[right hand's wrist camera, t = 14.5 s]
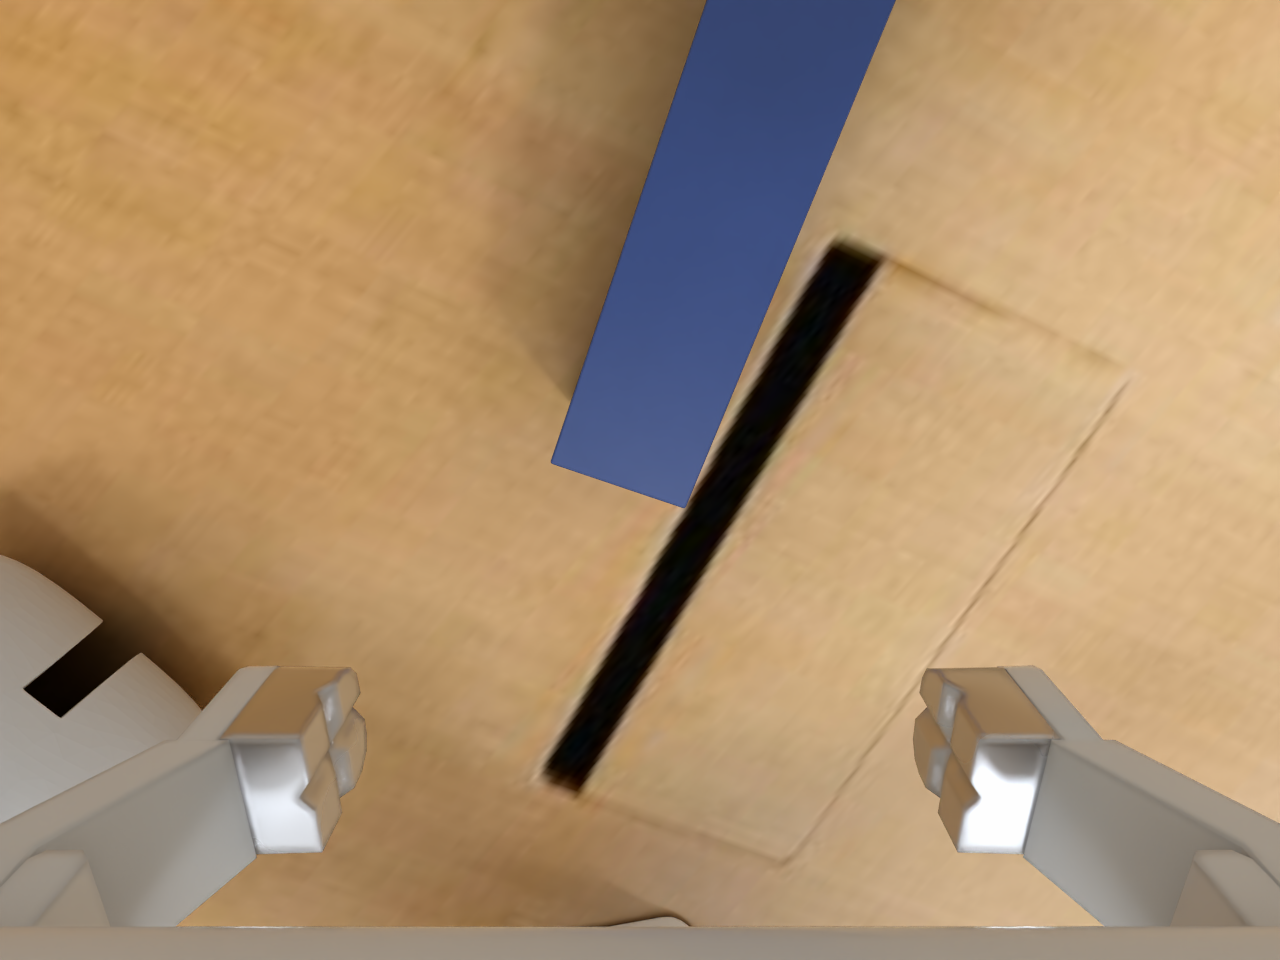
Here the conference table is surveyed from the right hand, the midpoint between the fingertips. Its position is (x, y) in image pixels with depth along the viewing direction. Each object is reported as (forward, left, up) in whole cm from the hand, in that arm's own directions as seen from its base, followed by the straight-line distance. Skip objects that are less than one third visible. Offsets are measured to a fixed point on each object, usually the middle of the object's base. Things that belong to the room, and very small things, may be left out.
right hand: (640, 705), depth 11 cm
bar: (+4, +10, -24) cm, 26 cm away
